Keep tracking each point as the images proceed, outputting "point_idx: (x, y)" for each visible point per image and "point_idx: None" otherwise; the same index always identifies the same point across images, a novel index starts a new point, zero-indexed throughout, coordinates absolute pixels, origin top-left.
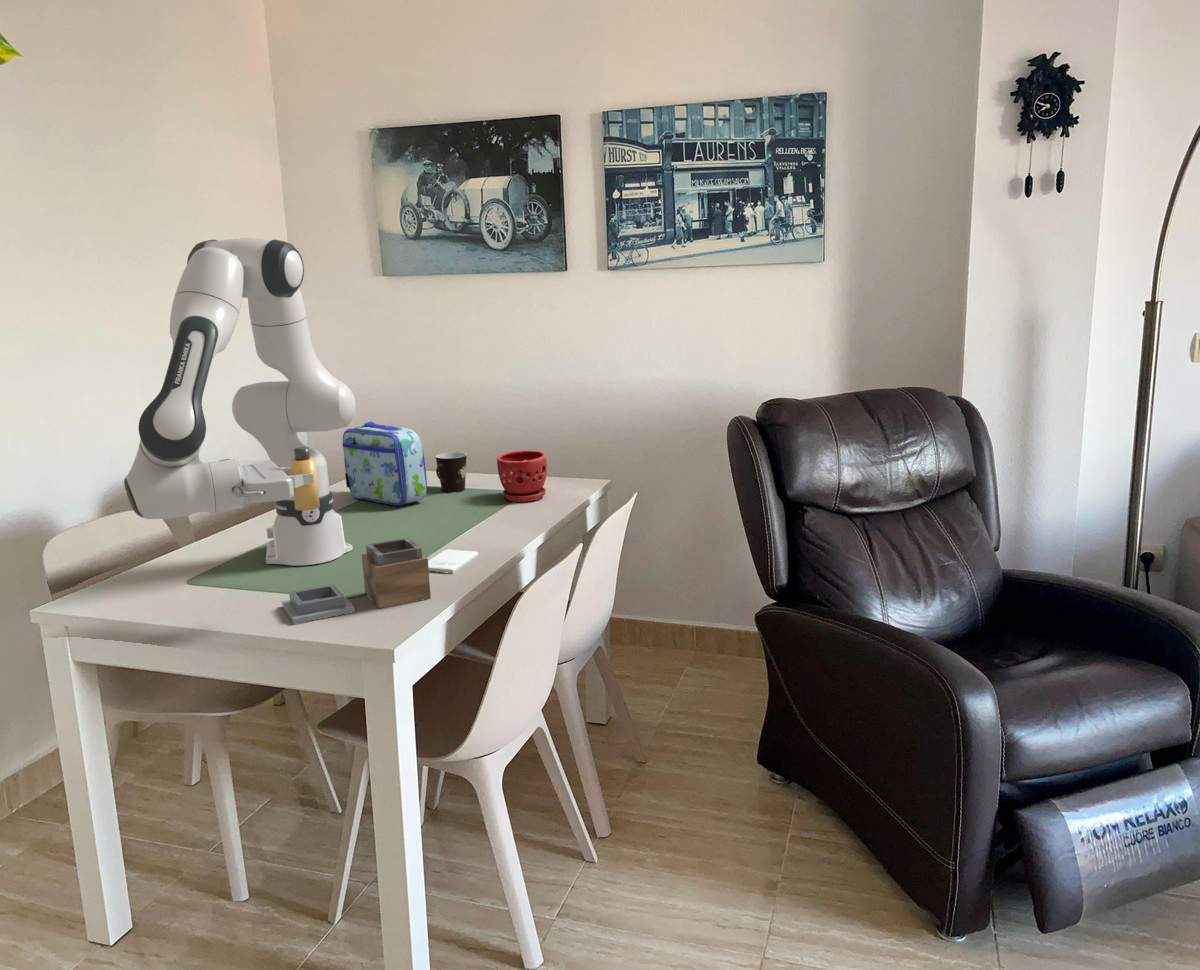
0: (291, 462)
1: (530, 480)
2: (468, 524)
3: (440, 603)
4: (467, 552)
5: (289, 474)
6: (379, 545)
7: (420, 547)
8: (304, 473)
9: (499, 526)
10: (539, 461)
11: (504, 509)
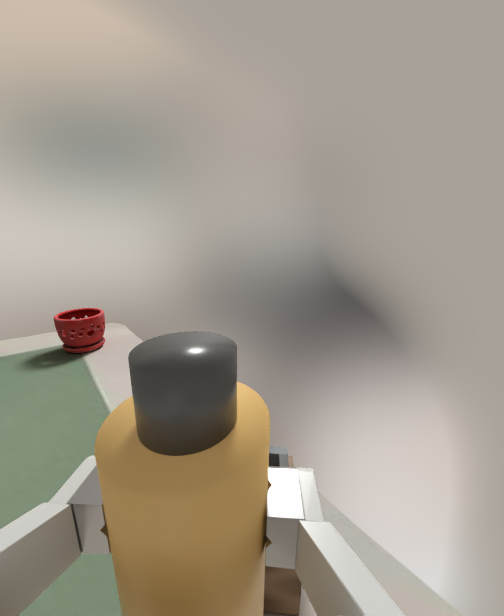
0: (190, 501)
1: (99, 331)
2: (85, 387)
3: None
4: None
5: (20, 583)
6: None
7: (282, 447)
8: (279, 498)
9: (123, 375)
10: (103, 314)
11: (89, 361)
